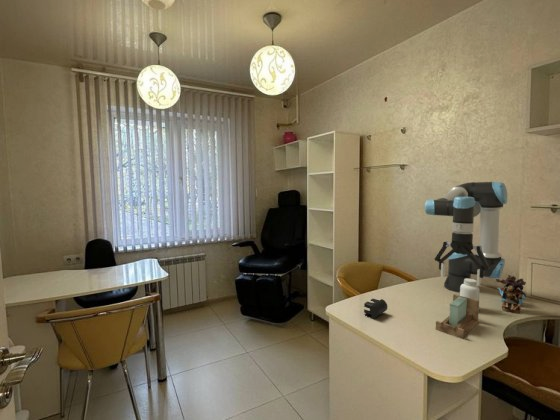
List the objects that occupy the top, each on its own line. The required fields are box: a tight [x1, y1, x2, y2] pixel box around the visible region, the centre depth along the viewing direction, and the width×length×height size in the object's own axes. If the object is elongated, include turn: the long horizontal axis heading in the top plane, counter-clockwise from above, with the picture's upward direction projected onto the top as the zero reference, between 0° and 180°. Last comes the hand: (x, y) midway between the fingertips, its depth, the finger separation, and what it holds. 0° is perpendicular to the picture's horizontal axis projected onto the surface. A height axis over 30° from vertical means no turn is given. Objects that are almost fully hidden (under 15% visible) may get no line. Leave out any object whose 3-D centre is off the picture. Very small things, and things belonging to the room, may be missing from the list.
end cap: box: [363, 298, 388, 319], centre depth 132 cm, size 10×7×7 cm
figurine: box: [495, 274, 527, 314], centre depth 137 cm, size 11×9×18 cm
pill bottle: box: [459, 278, 481, 301], centre depth 139 cm, size 8×8×15 cm
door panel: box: [449, 297, 467, 326], centre depth 122 cm, size 3×12×10 cm, turn 131°
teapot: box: [497, 287, 526, 306], centre depth 147 cm, size 12×6×8 cm, turn 35°
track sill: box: [435, 294, 480, 340], centre depth 122 cm, size 10×22×10 cm, turn 131°
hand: (459, 280), depth 121 cm, fingers open, 13 cm apart
